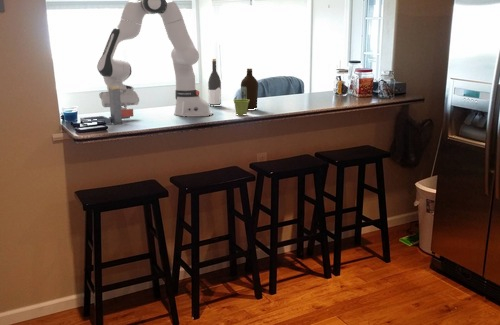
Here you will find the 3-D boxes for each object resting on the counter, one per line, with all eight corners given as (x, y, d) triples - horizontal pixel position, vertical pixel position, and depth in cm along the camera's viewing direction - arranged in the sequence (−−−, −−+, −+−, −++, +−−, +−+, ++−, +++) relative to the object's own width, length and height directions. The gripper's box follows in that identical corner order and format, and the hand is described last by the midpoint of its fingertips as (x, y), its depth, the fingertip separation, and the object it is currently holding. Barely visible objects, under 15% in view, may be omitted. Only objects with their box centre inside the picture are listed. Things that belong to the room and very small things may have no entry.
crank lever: (109, 120, 258) (109, 111, 257) (108, 119, 261) (107, 110, 260) (134, 118, 264) (133, 109, 263) (132, 117, 267) (131, 108, 266)
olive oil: (252, 108, 311) (253, 67, 304) (261, 110, 302) (261, 69, 295) (237, 109, 306) (237, 68, 299) (245, 111, 297) (245, 69, 290)
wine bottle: (214, 104, 325) (214, 58, 317) (223, 105, 320) (223, 58, 313) (206, 105, 319) (205, 58, 311) (215, 107, 314) (214, 59, 306)
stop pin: (118, 122, 258) (115, 86, 254) (122, 123, 255) (119, 86, 251) (111, 123, 256) (108, 86, 251) (114, 124, 253) (112, 87, 248)
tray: (103, 120, 265) (102, 115, 264) (110, 123, 255) (110, 118, 255) (80, 122, 258) (80, 117, 257) (87, 125, 248) (87, 121, 248)
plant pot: (252, 114, 285) (252, 99, 283) (244, 116, 277) (244, 101, 275) (238, 113, 289) (238, 98, 287) (230, 115, 282) (230, 100, 279)
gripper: (99, 88, 261) (106, 109, 256) (135, 86, 272) (143, 106, 267) (97, 96, 266) (104, 116, 260) (133, 93, 277) (140, 113, 272)
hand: (124, 111), depth 264 cm, fingers closed
